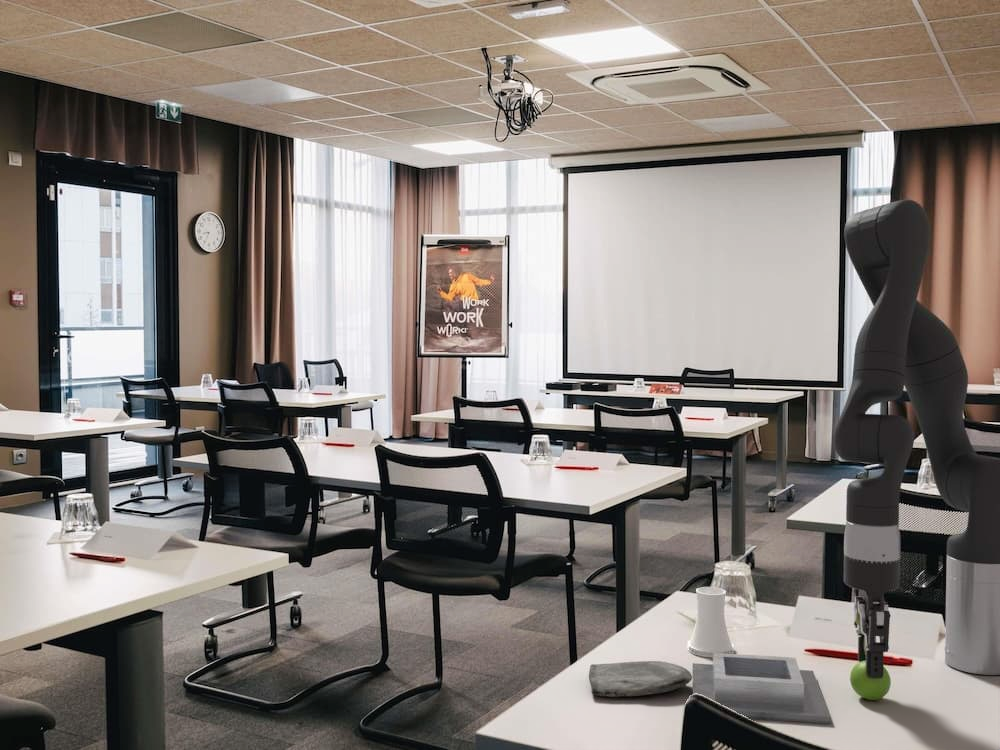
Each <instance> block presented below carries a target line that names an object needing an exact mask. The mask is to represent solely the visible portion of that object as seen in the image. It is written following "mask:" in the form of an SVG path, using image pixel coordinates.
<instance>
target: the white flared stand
mask: <svg viewBox="0 0 1000 750" xmlns="http://www.w3.org/2000/svg"><path fill="white" fill-rule="evenodd" d="M695 592H696V602H697V606H696V607H697V609H696V611H697V612H696V618H695V623H694V624H695V625H694V629H693V631H692V634H691V637H690V639H689V640H687V648H686V649H687V651H688V652H689V653H691V654H693V655H696V656H699V657H705V658H713V653H725V654H735V649H734V648H735V646H734V644H733V642H731V639H730V635H729V632H728V629H727V624H726V623H727V622H726V617H725V602H726V600H725V599H726V594H727V590H726V589H723V588H720V587H717V586H716V587H714V586H702V587H697V588H695Z"/></svg>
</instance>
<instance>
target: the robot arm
mask: <svg viewBox="0 0 1000 750" xmlns="http://www.w3.org/2000/svg"><path fill="white" fill-rule="evenodd" d="M843 228H844V230H843V231H844V232H843V235H844V243H845V247H846V250H847V254H848V257H849V259H850V261H851V263H852V266H853V268H854V269H855V272H856V273H857V276H858V278H859V280H860V281H861V284H862V285H863V287H864V289H865V291H866V293H867V295H868V298H869V300H870V301H871V303H872V306H873V307H872V309H871V311H870V312H869V314H868V316H867V318H865V321H864V322H863V324H862V327H861V328H860V330H859V333H858V336H857V339H856V343H855V347H854V348H855V349H854V354H853V355H854V357H853V366H852V367H853V368H852V379H851V385H850V389H849V393H848V395H847V399H846V401H845V404H844V406H843V409H842V412H841V413H840V415H839V418H838V420H837V422H836V426H835V429H834V433H833V446H834V447H833V448H834V451H835V452H836V454H837V455H838V457H839V458H841V460H843V461H844V462H849V463H859V464H860V463H861V464H879V465H884V469H883V471H882V473H881V474H879V475H878V476H874V477H867V478H860V479H855V480H852V481H850V482H849V484H848V485H847V489H846V501H845V502H846V509H845V511H846V512H845V514H846V516H845V517H846V519H845V529H844V535H843V536H844V537H843V582H844V584H845V585H846V587H847V586H848V587H850V588H851V589H853V595H854V597H853V599H854V600H853V601H854V604H853V605H854V622H853V625H854V628H855V633H856V635H857V636H858V637H857V640H858V641H857V660H858V663H859V662H861V661H865V660H866V675H867V677H869V678H878V679H880V678H882V677H883V666H884V656H885V655H884V654H885V653H888V651H889V649H890V645H889V641H890V639H889V638H890V621H891V613H890V610H889V603H888V601H887V602H886V601H885V596H884V595H885V593H886V592H893V591H896V590H898V589H899V587H900V586H901V533H900V524H899V523H900V495H901V488H902V482H903V478H904V476H905V475H904V474H905V471H906V468H907V464H908V461H909V460H910V456H911V454H912V450H913V447H914V443H915V431H914V429H913V425H912V424H911V423H910V421H909V420H908V419H907V418H906V417H904V416H903V415H898V414H882V413H881V414H877V413H874V414H873V413H867V412H868V410H869V409H870V408H871V407H872V406H874V405H878V404H881V403H885V402H891V401H895V400H898V399H900V397H902V395H903V393H904V388H905V391H906V392H907V395H908V397H909V400H910V403H911V406H912V409H913V411H914V415H915V416H916V417H915V418H916V420H917V423H918V425H919V428H920V431H921V434H922V436H923V441H924V443H925V448H926V450H927V451H926V452H927V455H928V459H929V463H930V467H931V471H932V476H933V479H934V483H935V485H936V489H937V491H938V493H939V495H940V497H941V498H942V500H943V501H944V502H945V503H946V504H947V505H948V506H949V507H951V508H954V509H956V510H959V511H963V512H965V513H968V516H967V526H966V529H965V530H964V531H963V532H959V533H955V534H953V535H950V536H949V537H948V538H947V541H946V576H945V577H946V578H945V579H946V580H945V581H946V582H945V584H946V586H945V588H946V589H945V637H944V638H945V643H944V644H945V645H944V661H945V663H946V665H948V666H949V667H951V668H953V669H956V670H958V671H962V672H966V673H970V674H975V675H976V674H977V675H985V676H986V675H987V676H998V675H1000V458H999V457H994V456H988V455H982V454H978V453H977V452H976V451H975V449H974V447H973V445H972V443H971V440H970V439H969V435H968V432H967V430H966V427H965V422H964V407H965V403H966V398H967V394H968V386H969V374H968V373H969V372H968V369H967V365H966V362H965V359H964V358H963V357H964V356H963V354H962V352H961V349H960V346H959V344H958V343H959V342H958V341H957V338H956V336H955V334H954V332H953V331H952V330H951V329H950V328H949V327H948V326H947V324H945V322H944V321H942V320H941V319H940V318H939V317H938V316H937V315H936V314H935V313H934V312H932V311H931V310H930V309H929V308H927V307H926V306H925V305H924V304H922V303H921V302H920V301H919V300H918V299H917V298H918V295H919V292H920V289H921V288H920V287H921V285H922V281H923V275H924V271H925V269H926V263H927V260H928V256H929V255H928V254H929V251H930V244H931V232H932V231H931V230H932V229H931V224H930V219H929V216H928V214H927V211H926V210H925V208H924V207H923V206H922V205H921V204H920V203H918V201H916V200H913V199H906V198H905V199H901V200H896V201H892V202H888V203H884V204H881V205H878V206H874V207H871V208H867V209H865V210H861V211H858V212H855V213H853V214H851V215H850V216H849V217H848V218H847V220H846V222H845V224H844V227H843ZM867 626H869V628H868V627H867ZM864 635H865V649H866V655H865V651H864ZM875 636H876V637H879V642H877V641H876V642H873V640H874V637H875Z"/></svg>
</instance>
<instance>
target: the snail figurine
mask: <svg viewBox="0 0 1000 750" xmlns="http://www.w3.org/2000/svg"><path fill="white" fill-rule="evenodd" d="M867 627H868V628H869V626H867ZM873 642H877V636H875V637H874V640H873ZM864 651H865V655H866V649H865V635H864ZM849 680H850V685H851V688H852V689H853V691H854V692H855V693H856V695H857V696H859V697H861V698H863V699H865V700H868V701H876V700H880V699H882V698H884V697H885V696H886V695H887V694H888V693H889V691H890V690H891V689H890V688H891V684H892V683H891V681H892V679H891V676H890V673H889V672H888V670H887V668H885V666H884V665H883V677H882V678H880V679H878V678H869V677H867V675H866V660H865V661H861V662H859V661H858V663H857V664H855V665H854V666H853V667H852V669H851V670H850V675H849Z"/></svg>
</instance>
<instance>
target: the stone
mask: <svg viewBox="0 0 1000 750" xmlns="http://www.w3.org/2000/svg"><path fill="white" fill-rule="evenodd" d="M588 678H589V682H590V683H589V684H590V688H591V693H592V694H593V695H594V696H595V697H608V698H617V697H630V698H631V697H639V696H647V695H656V694H662V693H663V694H664V693H667V692H671V691H674V690H677V689H680V688H682V687H684V686H686V685H687V684H689V683H690V682H691V681H692V680H693V674H692V673H691V672H690V670H688V669H687V668H685V667H683V666H681V665H678V664H675V663H672V662H667V661H662V660H661V661H659V660H647V661H646V660H645V661H642V660H641V661H626V662H623V661H622V662H615V663H600V664H599V663H597V664H594V663H593V664H590V666H589V670H588Z"/></svg>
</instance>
